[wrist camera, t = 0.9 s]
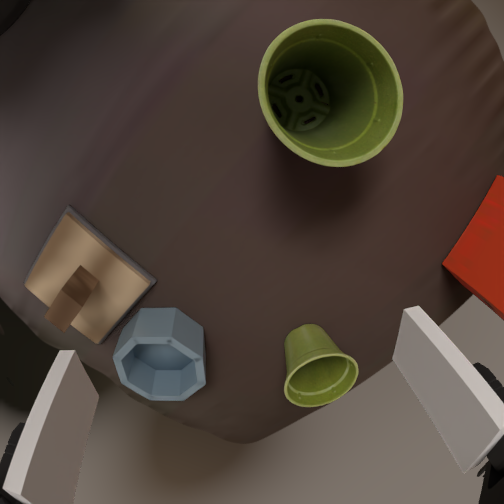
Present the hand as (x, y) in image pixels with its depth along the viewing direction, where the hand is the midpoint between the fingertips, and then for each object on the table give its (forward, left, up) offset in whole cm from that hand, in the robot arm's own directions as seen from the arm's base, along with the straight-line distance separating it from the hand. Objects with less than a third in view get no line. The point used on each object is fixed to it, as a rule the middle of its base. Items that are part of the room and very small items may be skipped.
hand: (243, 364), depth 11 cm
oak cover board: (-6, -19, -24) cm, 32 cm away
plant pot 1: (-2, +14, -25) cm, 29 cm away
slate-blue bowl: (+7, -19, -25) cm, 32 cm away
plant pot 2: (+22, -6, -25) cm, 34 cm away
